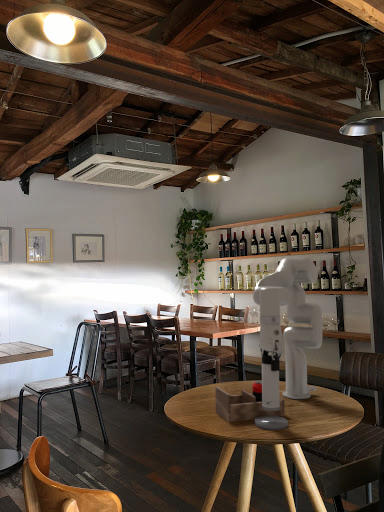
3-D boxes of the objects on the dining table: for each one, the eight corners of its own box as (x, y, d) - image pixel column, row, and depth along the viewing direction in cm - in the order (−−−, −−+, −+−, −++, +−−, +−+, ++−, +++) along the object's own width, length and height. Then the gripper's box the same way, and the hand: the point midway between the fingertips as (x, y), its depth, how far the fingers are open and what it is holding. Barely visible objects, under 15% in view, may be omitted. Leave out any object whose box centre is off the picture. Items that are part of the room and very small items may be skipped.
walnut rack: (268, 406, 182) (268, 382, 182) (284, 415, 170) (284, 389, 170) (215, 411, 174) (215, 386, 175) (228, 422, 162) (228, 395, 163)
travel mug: (270, 412, 155) (269, 356, 156) (259, 407, 161) (258, 353, 162) (283, 410, 158) (282, 354, 159) (272, 405, 164) (271, 352, 165)
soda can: (248, 412, 174) (248, 382, 174) (259, 408, 179) (259, 379, 180) (264, 416, 168) (264, 385, 169) (275, 412, 174) (274, 382, 175)
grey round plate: (277, 417, 167) (277, 413, 167) (294, 427, 156) (294, 423, 156) (249, 421, 163) (249, 417, 163) (264, 431, 152) (264, 427, 152)
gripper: (291, 322, 154) (291, 373, 153) (267, 318, 171) (268, 363, 170) (272, 322, 152) (273, 374, 151) (250, 318, 168) (251, 365, 167)
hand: (270, 368), depth 160 cm, fingers closed on travel mug, 6 cm apart
